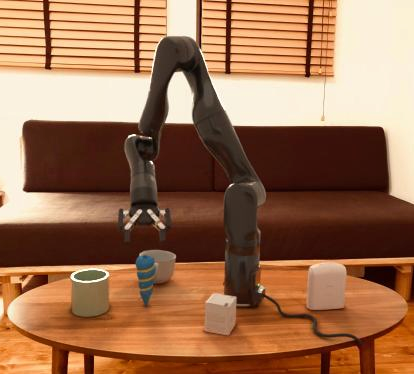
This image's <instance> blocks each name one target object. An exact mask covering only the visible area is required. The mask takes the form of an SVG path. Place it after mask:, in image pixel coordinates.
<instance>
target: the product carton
mask: <svg viewBox="0 0 414 374" xmlns="http://www.w3.org/2000/svg"><path fill="white" fill-rule="evenodd" d="M236 298H237V297H234V296H228V295H224V294H223V293H222V294H221V293H217V292H213V293H212V294H211V295H210V297H209V298H207V300H206V301H205V302H204V328H203V329H204V332H207V333H212V334H218V335H222V336H229V335H230V334H231V332H232V330H233V329H234V328H235V326H236V321H237V319H236V318H237V307H236Z"/></svg>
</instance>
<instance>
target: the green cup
mask: <svg viewBox="0 0 414 374" xmlns="http://www.w3.org/2000/svg"><path fill="white" fill-rule="evenodd" d="M70 308H71V312H72V314H73V315H75V316H78V317H84V318H90V317H97V316H100V315H104V314H105V313H106V312H108V311H109V310H110V273H109V272H108V271H107V270H104V269H99V268H85V269H81V270H78V271H75V272H73V273H72V274H71V275H70Z"/></svg>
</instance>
